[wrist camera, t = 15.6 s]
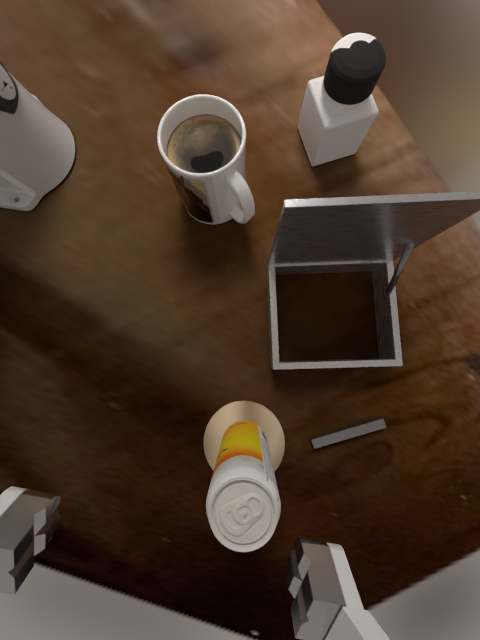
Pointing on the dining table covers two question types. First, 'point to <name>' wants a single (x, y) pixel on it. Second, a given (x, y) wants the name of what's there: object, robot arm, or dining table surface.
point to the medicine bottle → (342, 99)
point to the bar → (347, 432)
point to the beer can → (243, 490)
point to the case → (359, 254)
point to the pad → (244, 413)
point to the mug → (207, 158)
